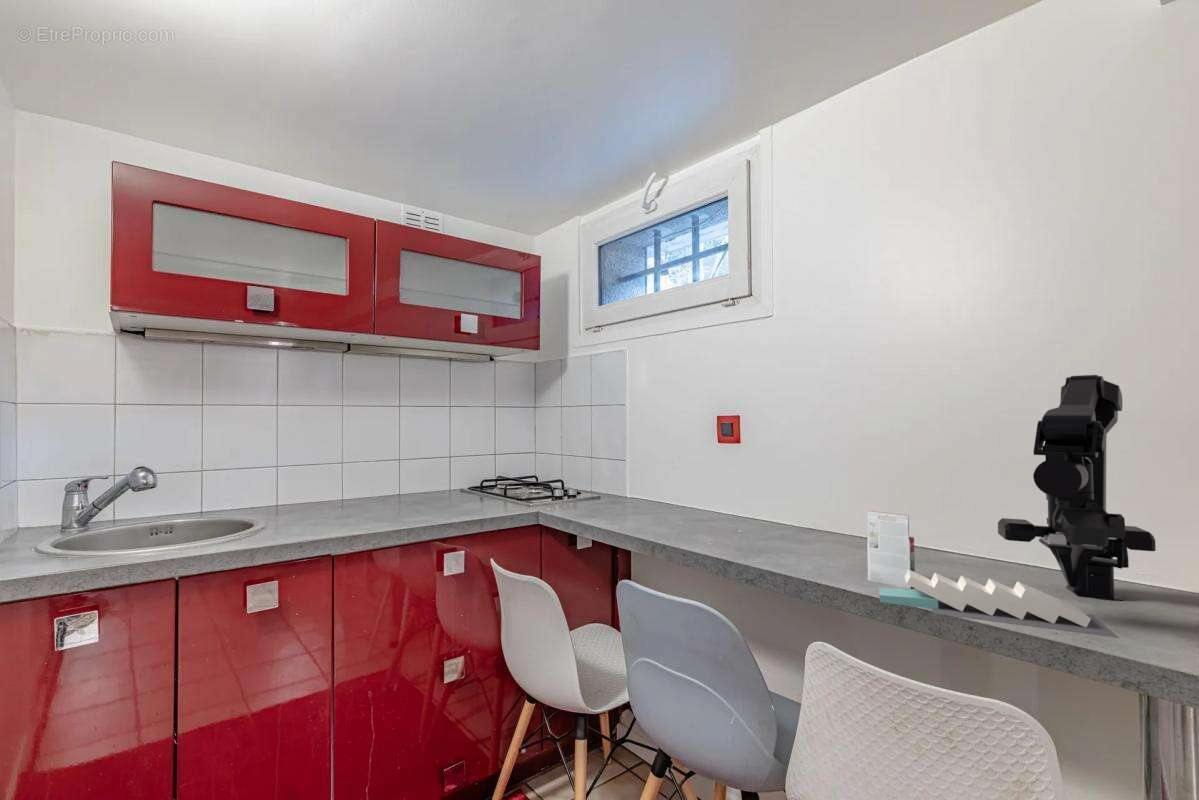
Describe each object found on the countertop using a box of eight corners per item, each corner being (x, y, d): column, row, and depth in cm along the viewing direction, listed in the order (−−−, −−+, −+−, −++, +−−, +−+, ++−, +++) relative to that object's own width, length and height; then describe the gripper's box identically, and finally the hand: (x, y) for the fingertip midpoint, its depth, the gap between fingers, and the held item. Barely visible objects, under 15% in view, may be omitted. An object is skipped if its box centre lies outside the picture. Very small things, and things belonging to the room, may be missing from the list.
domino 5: (1054, 623, 88) (991, 594, 91) (1044, 613, 92) (985, 586, 96) (1058, 615, 87) (995, 586, 91) (1049, 605, 92) (989, 578, 95)
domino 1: (938, 609, 94) (880, 604, 98) (934, 600, 99) (879, 596, 103) (937, 599, 94) (879, 595, 98) (934, 591, 99) (878, 587, 103)
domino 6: (1086, 627, 86) (1021, 597, 90) (1074, 617, 90) (1013, 589, 94) (1090, 618, 86) (1025, 589, 89) (1079, 608, 90) (1017, 581, 94)
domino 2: (962, 611, 93) (906, 584, 97) (957, 602, 97) (904, 576, 101) (966, 603, 93) (910, 576, 96) (961, 595, 97) (908, 569, 101)
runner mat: (926, 597, 102) (926, 595, 102) (1092, 617, 91) (1092, 614, 91) (933, 615, 92) (933, 613, 92) (1119, 640, 82) (1119, 637, 82)
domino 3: (992, 616, 91) (934, 587, 95) (986, 606, 96) (931, 580, 99) (996, 607, 91) (938, 579, 95) (990, 598, 95) (934, 572, 99)
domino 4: (1022, 619, 89) (962, 591, 93) (1014, 610, 94) (957, 583, 97) (1026, 611, 89) (966, 582, 93) (1018, 602, 94) (961, 575, 97)
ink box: (872, 578, 113) (871, 508, 114) (916, 586, 108) (914, 512, 108) (867, 582, 111) (866, 510, 111) (911, 591, 105) (909, 515, 106)
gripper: (1013, 494, 86) (1015, 594, 85) (1173, 501, 78) (1176, 612, 77) (996, 485, 96) (998, 574, 95) (1136, 491, 88) (1139, 588, 88)
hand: (1072, 586), depth 89 cm, fingers closed
